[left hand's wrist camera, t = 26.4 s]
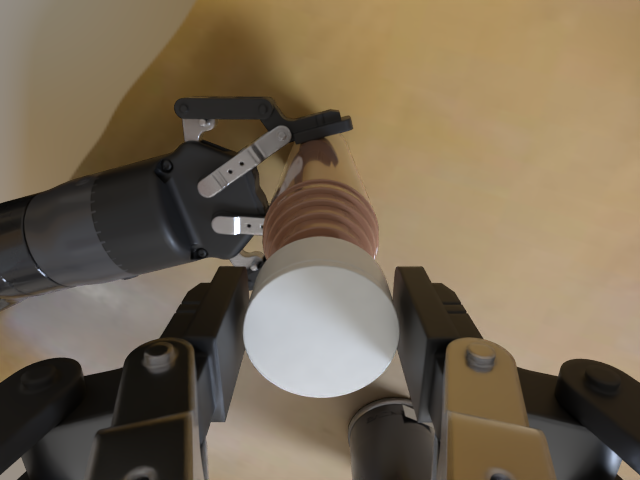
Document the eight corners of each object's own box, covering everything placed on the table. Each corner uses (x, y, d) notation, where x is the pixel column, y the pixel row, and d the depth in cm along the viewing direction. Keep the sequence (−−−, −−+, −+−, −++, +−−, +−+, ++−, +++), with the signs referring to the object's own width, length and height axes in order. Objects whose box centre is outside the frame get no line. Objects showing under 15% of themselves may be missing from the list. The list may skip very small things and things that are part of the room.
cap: (230, 316, 12) (215, 357, 10) (297, 209, 11) (292, 235, 9) (340, 372, 13) (344, 419, 11) (415, 278, 12) (432, 314, 10)
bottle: (319, 196, 34) (319, 415, 12) (279, 155, 33) (195, 318, 11) (361, 156, 33) (446, 321, 11) (320, 113, 32) (322, 199, 10)
